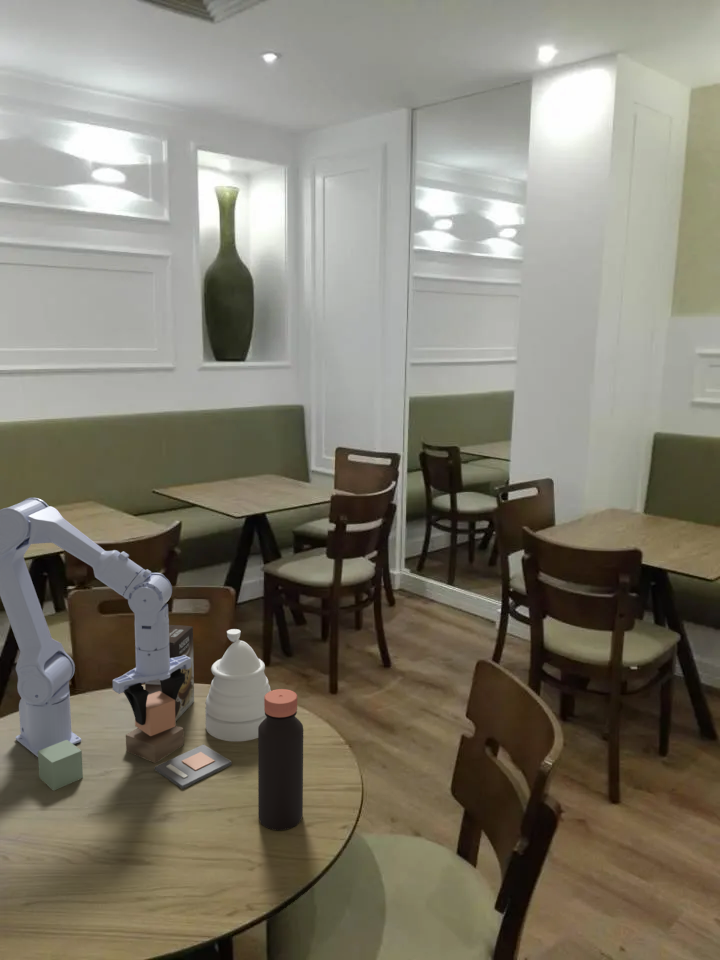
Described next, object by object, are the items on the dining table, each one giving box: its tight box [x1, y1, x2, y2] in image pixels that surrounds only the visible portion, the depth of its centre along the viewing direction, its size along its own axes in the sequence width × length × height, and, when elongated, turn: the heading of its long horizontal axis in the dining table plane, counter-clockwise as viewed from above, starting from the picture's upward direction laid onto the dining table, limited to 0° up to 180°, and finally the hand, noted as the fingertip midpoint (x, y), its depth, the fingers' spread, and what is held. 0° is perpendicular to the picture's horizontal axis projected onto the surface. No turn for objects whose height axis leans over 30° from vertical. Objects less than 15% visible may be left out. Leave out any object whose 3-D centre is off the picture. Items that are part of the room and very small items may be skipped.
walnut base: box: [125, 724, 185, 763], centre depth 133 cm, size 7×7×4 cm
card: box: [154, 743, 232, 790], centre depth 128 cm, size 8×10×1 cm
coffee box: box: [144, 624, 195, 723], centre depth 146 cm, size 9×6×16 cm
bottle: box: [257, 688, 304, 831], centre depth 113 cm, size 7×7×20 cm
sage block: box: [37, 740, 84, 791], centre depth 123 cm, size 5×5×5 cm
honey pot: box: [204, 628, 272, 742], centre depth 141 cm, size 13×13×18 cm
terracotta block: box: [134, 691, 176, 736], centre depth 132 cm, size 5×5×5 cm
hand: (154, 717), depth 132 cm, fingers closed on terracotta block, 5 cm apart
